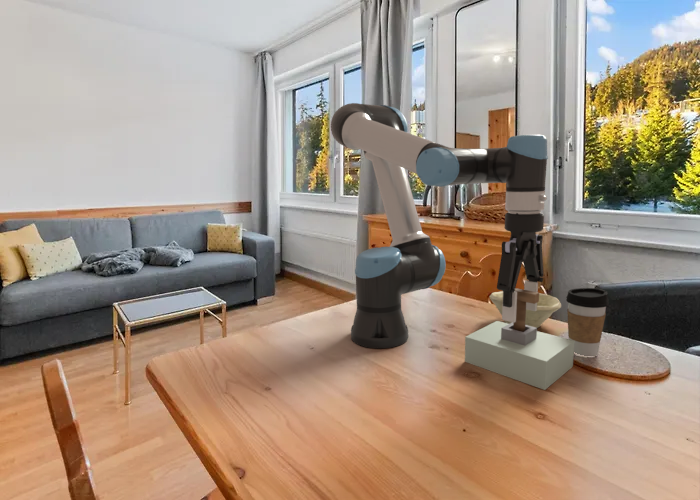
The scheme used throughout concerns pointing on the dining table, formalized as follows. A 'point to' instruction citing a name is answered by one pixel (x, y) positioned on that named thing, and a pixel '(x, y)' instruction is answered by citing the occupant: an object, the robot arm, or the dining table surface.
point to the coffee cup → (586, 318)
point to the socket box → (520, 353)
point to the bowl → (532, 317)
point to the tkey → (523, 307)
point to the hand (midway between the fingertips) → (519, 314)
